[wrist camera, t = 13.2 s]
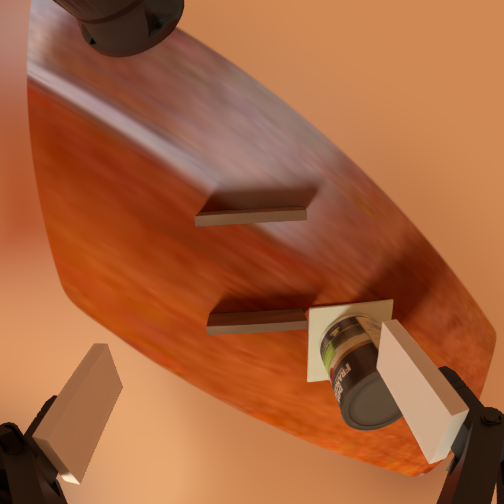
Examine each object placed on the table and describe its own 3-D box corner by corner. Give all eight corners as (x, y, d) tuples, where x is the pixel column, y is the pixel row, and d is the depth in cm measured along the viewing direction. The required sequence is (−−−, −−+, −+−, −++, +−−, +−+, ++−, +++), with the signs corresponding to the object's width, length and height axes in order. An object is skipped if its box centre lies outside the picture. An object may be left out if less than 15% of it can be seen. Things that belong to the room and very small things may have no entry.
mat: (309, 307, 44) (309, 308, 44) (392, 299, 44) (393, 300, 44) (307, 380, 47) (307, 382, 47) (382, 369, 47) (383, 371, 47)
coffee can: (315, 373, 47) (335, 436, 33) (321, 314, 44) (349, 371, 30) (375, 367, 47) (409, 423, 33) (386, 310, 44) (431, 360, 31)
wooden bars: (199, 212, 41) (194, 216, 37) (300, 206, 41) (306, 210, 37) (210, 321, 44) (207, 334, 41) (302, 315, 44) (307, 328, 41)
